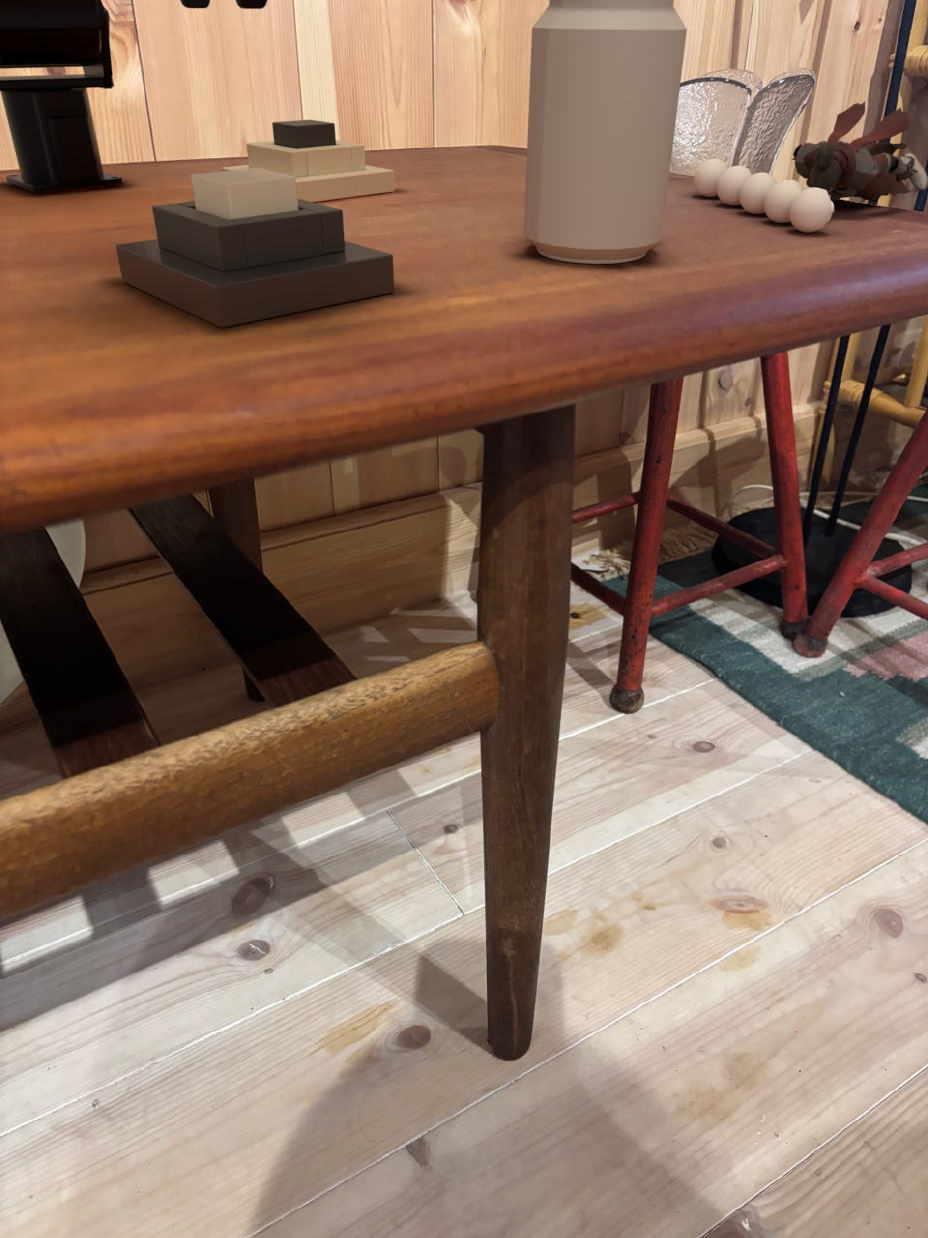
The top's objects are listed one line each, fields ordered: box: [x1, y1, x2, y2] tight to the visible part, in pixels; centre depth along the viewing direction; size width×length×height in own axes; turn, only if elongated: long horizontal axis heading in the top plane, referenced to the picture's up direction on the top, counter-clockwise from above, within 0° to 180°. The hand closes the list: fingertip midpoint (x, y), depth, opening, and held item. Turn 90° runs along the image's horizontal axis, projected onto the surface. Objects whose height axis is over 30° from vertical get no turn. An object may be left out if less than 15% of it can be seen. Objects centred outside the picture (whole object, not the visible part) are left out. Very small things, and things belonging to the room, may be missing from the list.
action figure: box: [790, 101, 928, 203], centre depth 60 cm, size 8×6×18 cm
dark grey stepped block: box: [115, 199, 395, 329], centre depth 42 cm, size 10×9×4 cm
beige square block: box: [190, 168, 298, 220], centre depth 41 cm, size 3×3×2 cm
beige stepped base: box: [220, 139, 396, 203], centre depth 65 cm, size 9×9×3 cm
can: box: [523, 0, 688, 265], centre depth 46 cm, size 8×8×12 cm
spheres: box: [693, 158, 835, 233], centre depth 59 cm, size 15×2×2 cm, turn 14°
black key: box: [271, 119, 337, 149], centre depth 64 cm, size 3×3×2 cm
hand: (222, 8), depth 37 cm, fingers open, 4 cm apart
